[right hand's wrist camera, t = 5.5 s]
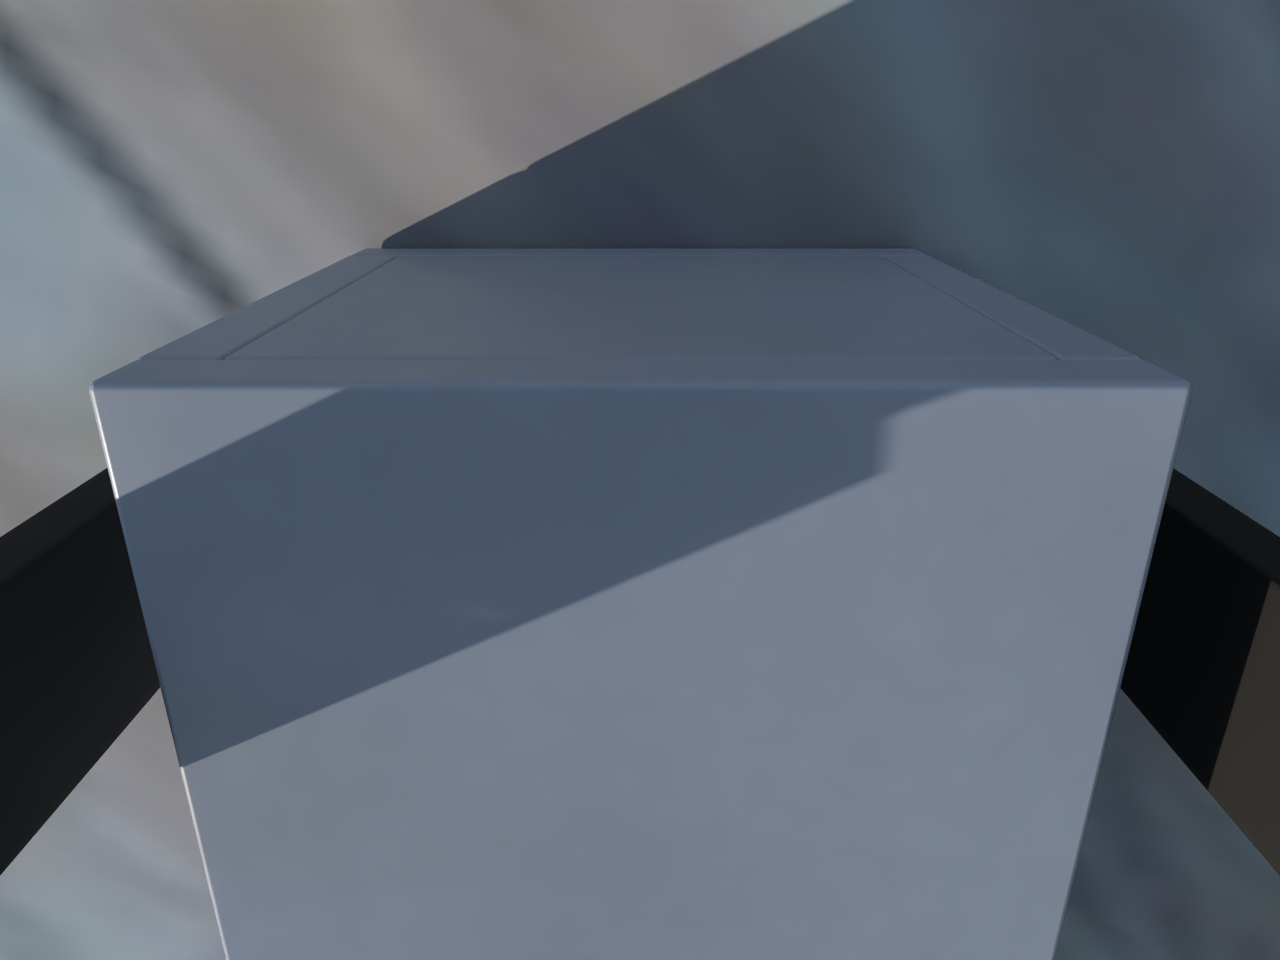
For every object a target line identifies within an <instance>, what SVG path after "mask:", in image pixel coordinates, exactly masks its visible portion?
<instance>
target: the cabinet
mask: <svg viewBox="0 0 1280 960" xmlns="http://www.w3.org/2000/svg"><path fill="white" fill-rule="evenodd" d="M89 393H90V397H91V401H92V405H93V409H94V414H95V418H96V422H97V426H98V430H99V434H100V438H101V443H102V447H103V451H104V455H105V459H106V463H107V467H108V472H109V476H110V480H111V484H112V488H113V492H114V496H115V501H116V505H117V509H118V513H119V517H120V521H121V525H122V529H123V534H124V538H125V542H126V546H127V550H128V554H129V558H130V563H131V567H132V571H133V575H134V579H135V583H136V587H137V592H138V596H139V600H140V604H141V608H142V612H143V616H144V620H145V625H146V629H147V633H148V637H149V641H150V645H151V649H152V654H153V658H154V662H155V666H156V670H157V674H158V678H159V683H160V687H161V691H162V695H163V699H164V703H165V707H166V711H167V716H168V720H169V724H170V728H171V732H172V736H173V740H174V745H175V749H176V753H177V757H178V761H179V765H180V769H181V774H182V778H183V782H184V786H185V790H186V794H187V798H188V803H189V807H190V811H191V815H192V819H193V823H194V827H195V831H196V836H197V840H198V844H199V848H200V852H201V856H202V860H203V865H204V869H205V873H206V877H207V881H208V885H209V889H210V894H211V898H212V902H213V906H214V910H215V914H216V918H217V922H218V927H219V931H220V935H221V939H222V943H223V947H224V951H225V956H226V960H1054V959H1055V955H1056V951H1057V947H1058V942H1059V938H1060V934H1061V930H1062V926H1063V922H1064V918H1065V914H1066V909H1067V905H1068V901H1069V897H1070V893H1071V889H1072V885H1073V880H1074V876H1075V872H1076V868H1077V864H1078V860H1079V856H1080V852H1081V847H1082V843H1083V839H1084V835H1085V831H1086V827H1087V823H1088V819H1089V814H1090V810H1091V806H1092V802H1093V798H1094V794H1095V790H1096V785H1097V781H1098V777H1099V773H1100V769H1101V765H1102V761H1103V757H1104V752H1105V748H1106V744H1107V740H1108V736H1109V732H1110V728H1111V724H1112V719H1113V715H1114V711H1115V707H1116V703H1117V699H1118V695H1119V691H1120V686H1121V682H1122V678H1123V674H1124V670H1125V666H1126V662H1127V657H1128V653H1129V649H1130V645H1131V641H1132V637H1133V633H1134V629H1135V624H1136V620H1137V616H1138V612H1139V608H1140V604H1141V600H1142V596H1143V591H1144V587H1145V583H1146V579H1147V575H1148V571H1149V567H1150V562H1151V558H1152V554H1153V550H1154V546H1155V542H1156V538H1157V534H1158V529H1159V525H1160V521H1161V517H1162V513H1163V509H1164V505H1165V501H1166V496H1167V492H1168V488H1169V484H1170V480H1171V476H1172V472H1173V468H1174V463H1175V459H1176V455H1177V451H1178V447H1179V443H1180V439H1181V434H1182V430H1183V426H1184V422H1185V418H1186V414H1187V410H1188V406H1189V401H1190V397H1191V393H1192V385H1191V383H1190V382H1189V381H1187V380H1185V379H1183V378H1181V377H1179V376H1177V375H1175V374H1173V373H1171V372H1169V371H1167V370H1165V369H1162V368H1160V367H1158V366H1156V365H1154V364H1152V363H1150V362H1148V361H1146V360H1142V359H1141V357H1139V356H1137V355H1135V354H1132V353H1130V352H1128V351H1126V350H1124V349H1122V348H1120V347H1118V346H1116V345H1114V344H1112V343H1110V342H1108V341H1105V340H1103V339H1101V338H1099V337H1097V336H1095V335H1093V334H1091V333H1089V332H1087V331H1085V330H1083V329H1080V328H1078V327H1076V326H1074V325H1072V324H1070V323H1068V322H1066V321H1064V320H1062V319H1060V318H1058V317H1055V316H1053V315H1051V314H1049V313H1047V312H1045V311H1043V310H1041V309H1039V308H1037V307H1035V306H1033V305H1031V304H1028V303H1026V302H1024V301H1022V300H1020V299H1018V298H1016V297H1014V296H1012V295H1010V294H1008V293H1006V292H1003V291H1001V290H999V289H997V288H995V287H993V286H991V285H989V284H987V283H985V282H983V281H981V280H978V279H976V278H974V277H972V276H970V275H968V274H966V273H964V272H962V271H960V270H958V269H956V268H954V267H951V266H949V265H947V264H945V263H943V262H941V261H939V260H937V259H935V258H933V257H931V256H928V255H926V254H924V253H922V252H920V251H918V250H916V249H364V250H362V251H360V252H358V253H356V254H354V255H351V256H349V257H346V258H344V259H342V260H340V261H338V262H336V263H334V264H332V265H330V266H328V267H326V268H324V269H322V270H320V271H318V272H315V273H313V274H311V275H309V276H307V277H305V278H303V279H301V280H299V281H297V282H295V283H293V284H291V285H289V286H287V287H284V288H282V289H280V290H278V291H276V292H274V293H272V294H270V295H268V296H266V297H264V298H262V299H260V300H258V301H256V302H253V303H251V304H249V305H247V306H245V307H243V308H241V309H239V310H237V311H235V312H233V313H231V314H229V315H227V316H225V317H222V318H220V319H218V320H216V321H214V322H212V323H210V324H208V325H206V326H204V327H202V328H200V329H198V330H196V331H194V332H191V333H189V334H187V335H185V336H183V337H181V338H179V339H177V340H175V341H173V342H171V343H169V344H167V345H165V346H163V347H161V348H158V349H156V350H154V351H152V352H150V353H148V354H146V355H144V356H142V357H140V358H139V359H138V360H136V361H134V362H132V363H130V364H128V365H126V366H124V367H122V368H119V369H117V370H115V371H113V372H111V373H109V374H107V375H105V376H103V377H101V378H99V379H97V380H95V381H93V382H91V384H90V387H89Z"/></svg>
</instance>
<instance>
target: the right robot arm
mask: <svg viewBox="0 0 1280 960" xmlns="http://www.w3.org/2000/svg"><path fill="white" fill-rule="evenodd" d="M159 688H160V683H159V678H158V674H157V670H156V666H155V662H154V658H153V654H152V649H151V645H150V641H149V637H148V633H147V629H146V625H145V620H144V616H143V612H142V608H141V604H140V600H139V596H138V592H137V587H136V583H135V579H134V575H133V571H132V567H131V563H130V558H129V554H128V550H127V546H126V542H125V538H124V534H123V529H122V525H121V521H120V517H119V513H118V509H117V505H116V501H115V496H114V492H113V488H112V484H111V480H110V476H109V472H108V468H106V469H105V470H103V471H102V472H100V473H99V474H97V475H96V476H94V477H93V478H91V479H89V480H88V481H86V482H85V483H83V484H82V485H80V486H79V487H77V488H76V489H74V490H72V491H71V492H69V493H68V494H66V495H65V496H63V497H62V498H60V499H59V500H57V501H56V502H54V503H52V504H51V505H49V506H48V507H46V508H45V509H43V510H42V511H40V512H39V513H37V514H35V515H34V516H32V517H31V518H29V519H28V520H26V521H25V522H23V523H22V524H20V525H19V526H17V527H15V528H14V529H12V530H11V531H9V532H8V533H6V534H5V535H3V536H2V537H0V875H1V874H2V873H3V871H4V870H5V869H6V868H7V867H8V866H9V864H10V863H11V862H12V861H13V860H14V859H15V857H16V856H17V855H18V854H19V853H20V851H21V850H22V849H23V848H24V847H25V846H26V844H27V843H28V842H29V841H30V840H31V839H32V837H33V836H34V835H35V834H36V833H37V831H38V830H39V829H40V828H41V827H42V826H43V824H44V823H45V822H46V821H47V820H48V819H49V817H50V816H51V815H52V814H53V813H54V811H55V810H56V809H57V808H58V807H59V806H60V804H61V803H62V802H63V801H64V800H65V799H66V797H67V796H68V795H69V794H70V793H71V791H72V790H73V789H74V788H75V787H76V786H77V784H78V783H79V782H80V781H81V780H82V779H83V777H84V776H85V775H86V774H87V773H88V771H89V770H90V769H91V768H92V767H93V766H94V764H95V763H96V762H97V761H98V760H99V759H100V757H101V756H102V755H103V754H104V753H105V751H106V750H107V749H108V748H109V747H110V746H111V744H112V743H113V742H114V741H115V740H116V739H117V737H118V736H119V735H120V734H121V733H122V731H123V730H124V729H125V728H126V727H127V726H128V724H129V723H130V722H131V721H132V720H133V719H134V717H135V716H136V715H137V714H138V713H139V711H140V710H141V709H142V708H143V707H144V706H145V704H146V703H147V702H148V701H149V700H150V698H151V697H152V696H153V695H154V694H155V693H156V691H157V690H158V689H159ZM1120 688H1121V689H1122V690H1123V691H1124V693H1125V694H1126V695H1127V696H1128V697H1129V699H1130V700H1131V701H1132V702H1133V703H1134V704H1135V706H1136V707H1137V708H1138V709H1139V710H1140V711H1141V713H1142V714H1143V715H1144V716H1145V717H1146V719H1147V720H1148V721H1149V722H1150V723H1151V724H1152V726H1153V727H1154V728H1155V729H1156V730H1157V731H1158V733H1159V734H1160V735H1161V736H1162V737H1163V739H1164V740H1165V741H1166V742H1167V743H1168V744H1169V746H1170V747H1171V748H1172V749H1173V750H1174V751H1175V753H1176V754H1177V755H1178V756H1179V757H1180V759H1181V760H1182V761H1183V762H1184V763H1185V764H1186V766H1187V767H1188V768H1189V769H1190V770H1191V771H1192V773H1193V774H1194V775H1195V776H1196V777H1197V779H1198V780H1199V781H1200V782H1201V783H1202V784H1203V786H1204V787H1205V788H1206V789H1207V790H1208V791H1209V793H1210V794H1211V795H1212V796H1213V797H1214V799H1215V800H1216V801H1217V802H1218V803H1219V804H1220V806H1221V807H1222V808H1223V809H1224V810H1225V811H1226V813H1227V814H1228V815H1229V816H1230V817H1231V819H1232V820H1233V821H1234V822H1235V823H1236V824H1237V826H1238V827H1239V828H1240V829H1241V830H1242V831H1243V833H1244V834H1245V835H1246V836H1247V837H1248V839H1249V840H1250V841H1251V842H1252V843H1253V844H1254V846H1255V847H1256V848H1257V849H1258V850H1259V851H1260V853H1261V854H1262V855H1263V856H1264V857H1265V859H1266V860H1267V861H1268V862H1269V863H1270V864H1271V866H1272V867H1273V868H1274V869H1275V870H1276V871H1277V873H1278V874H1279V875H1280V537H1278V536H1277V535H1275V534H1274V533H1272V532H1271V531H1269V530H1268V529H1266V528H1265V527H1263V526H1261V525H1260V524H1258V523H1257V522H1255V521H1254V520H1252V519H1251V518H1249V517H1248V516H1246V515H1245V514H1243V513H1241V512H1240V511H1238V510H1237V509H1235V508H1234V507H1232V506H1231V505H1229V504H1228V503H1226V502H1224V501H1223V500H1221V499H1220V498H1218V497H1217V496H1215V495H1214V494H1212V493H1211V492H1209V491H1208V490H1206V489H1204V488H1203V487H1201V486H1200V485H1198V484H1197V483H1195V482H1194V481H1192V480H1191V479H1189V478H1187V477H1186V476H1184V475H1183V474H1181V473H1180V472H1178V471H1177V470H1175V469H1174V468H1173V472H1172V476H1171V480H1170V484H1169V488H1168V492H1167V496H1166V501H1165V505H1164V509H1163V513H1162V517H1161V521H1160V525H1159V529H1158V534H1157V538H1156V542H1155V546H1154V550H1153V554H1152V558H1151V562H1150V567H1149V571H1148V575H1147V579H1146V583H1145V587H1144V591H1143V596H1142V600H1141V604H1140V608H1139V612H1138V616H1137V620H1136V624H1135V629H1134V633H1133V637H1132V641H1131V645H1130V649H1129V653H1128V657H1127V662H1126V666H1125V670H1124V674H1123V678H1122V682H1121V686H1120Z"/></svg>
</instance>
